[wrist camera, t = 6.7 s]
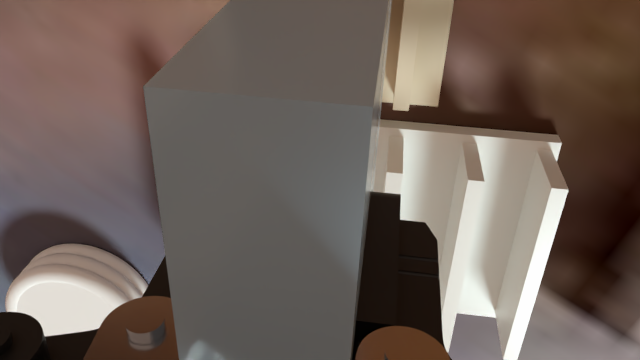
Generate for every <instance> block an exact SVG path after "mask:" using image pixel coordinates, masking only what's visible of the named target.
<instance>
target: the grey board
mask: <svg viewBox="0 0 640 360" xmlns="http://www.w3.org/2000/svg"><path fill="white" fill-rule="evenodd" d="M391 4H392V0H230V1H229V2H228V3H227V4H226V5H225V6H224V7H223V8H222V9H221V10H220V11H219V12H218V13H217V14H216V15H215V16H214V17H213V18H212V19H211V20H210V21H209V22H208V23H207V24H206V25H205V26H204V27H203V28H202V29H201V30H200V31H199V32H198V33H197V34H196V35H195V36H194V37H193V38H192V39H191V40H190V41H189V42H188V43H187V44H186V45H185V46H184V47H183V48H182V49H181V50H180V51H179V52H178V53H176V54H175V55H174V56H173V57H172V58H171V59H170V60H169V61H168V62H167V63H166V64H165V65H164V66H163V67H162V68H161V69H160V70H159V71H158V72H157V73H156V74H155V75H154V76H153V77H152V78H151V79H150V80H149V81H148V82H147V83H146V84H145V85H144V86H143V89H144V97H145V104H146V112H147V120H148V127H149V135H150V142H151V150H152V158H153V165H154V173H155V180H156V188H157V195H158V203H159V211H160V218H161V226H162V233H163V241H164V249H165V256H166V264H167V271H168V279H169V287H170V294H171V302H172V309H173V317H174V325H175V332H176V340H177V347H178V355H179V360H352V358H353V348H354V337H355V326H356V317H357V308H358V299H359V291H360V282H361V274H362V265H363V257H364V248H365V239H366V231H367V222H368V214H369V205H370V197H371V191H373V187H374V177H375V166H376V156H377V146H378V136H379V126H380V116H381V106H382V96H383V85H384V75H385V65H386V55H387V45H388V35H389V25H390V15H391Z"/></svg>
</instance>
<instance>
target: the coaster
mask: <svg viewBox="0 0 640 360" xmlns="http://www.w3.org/2000/svg"><path fill="white" fill-rule="evenodd" d="M147 287H148V284H147V283H146V281H145V280H144V279H143V278H142V276H141V275H140V274H139V273H138V272H137V271H136V270H135V269H134V268H133V267H131V266H130V265H129V264H128V263H126V262H125V261H123V260H122V259H120V258H119V257H117V256H115V255H113V254H111V253H109V252H107V251H105V250H102V249H100V248H96V247H93V246H89V245H84V244H74V243H71V244H60V245H55V246H52V247H50V248H47V249H45V250H43V251H42V252H40V253H39V254H37V255H36V256H35V257H34V258H33V259H32V260H31V261H30V263H29V264H28V265H27V266H26V267H25V268H24V269H23V270H22V272H21V273H20V275H19V276H18V277H17V278H15V279H14V281H13V282H12V283H11V285H10V287H9V289H8V292H7V295H6V300H5V306H6V312H19V313H25V314H27V315H30V316H32V317H33V318H35V319H36V320H37V321H38V322H39V323H40V325H41V327H42V329H43V333H44V336H53V335H61V334H69V333H76V332H84V331H90V330H95V329H98V328H99V327H100V325H101V324H102V322H103V321H104V319H105V318H106V317H107V316H108V314H109V313H111V312H112V311H113V310H114V309H115V308H117V307H119V306H120V305H122V304H124V303H126V302H128V301H131V300H134V299H136V298H141V297H142V296H143V294H144V292H145V291H146V289H147Z"/></svg>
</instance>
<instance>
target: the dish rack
mask: <svg viewBox="0 0 640 360" xmlns="http://www.w3.org/2000/svg"><path fill="white" fill-rule="evenodd" d="M561 144H562V143H561V140H560V138H559V136H558V135H553V134H542V133H531V132H519V131H508V130H497V129H485V128H474V127H463V126H451V125H440V124H429V123H417V122H406V121H395V120H383V119H380V126H379V136H378V146H377V156H376V166H375V177H374V187H373V192H383V193H392V194H401V204H400V220H407V221H417V222H425V223H426V224H427V225H428V227H429V228H430V230H431V231H432V233H433V234H434V236H435V237H436V239H437V243H438V263H439V279H440V297H441V315H442V332H443V342H444V346H445V349H446V351H447V352H449V347H450V342H451V338H452V333H453V328H454V324H455V319H456V314H457V313H461V314H470V315H478V316H487V317H495V318H496V321H497V327H498V333H499V339H500V345H501V350H502V356H503V359H505V360H517V359H518V355H519V352H520V349H521V345H522V342H523V339H524V336H525V332H526V329H527V326H528V322H529V319H530V316H531V312H532V309H533V306H534V302H535V299H536V296H537V293H538V289H539V286H540V283H541V279H542V276H543V273H544V269H545V266H546V263H547V259H548V256H549V253H550V250H551V246H552V243H553V240H554V236H555V233H556V230H557V226H558V223H559V220H560V216H561V213H562V210H563V207H564V203H565V200H566V197H567V193H568V187H567V185H566V183H565V180H564V178H563V176H562V173H561V171H560V169H559V166H558V164H557V159H558V155H559V151H560V148H561Z"/></svg>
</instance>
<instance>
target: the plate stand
mask: <svg viewBox="0 0 640 360" xmlns="http://www.w3.org/2000/svg"><path fill="white" fill-rule="evenodd" d="M453 3H454V0H392V4H391V15H390V25H389V35H388V45H387V55H386V65H385V75H384V85H383V96H382V102H388V103H393V110H401V111H409V104H412V105H423V106H435V107H438V102H439V96H440V89H441V83H442V76H443V69H444V63H445V56H446V50H447V43H448V36H449V30H450V23H451V17H452V10H453Z"/></svg>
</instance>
